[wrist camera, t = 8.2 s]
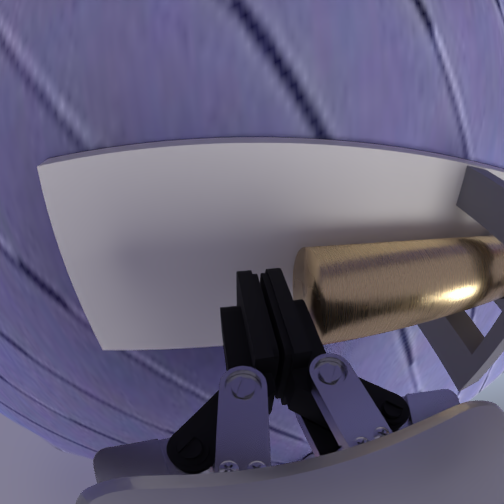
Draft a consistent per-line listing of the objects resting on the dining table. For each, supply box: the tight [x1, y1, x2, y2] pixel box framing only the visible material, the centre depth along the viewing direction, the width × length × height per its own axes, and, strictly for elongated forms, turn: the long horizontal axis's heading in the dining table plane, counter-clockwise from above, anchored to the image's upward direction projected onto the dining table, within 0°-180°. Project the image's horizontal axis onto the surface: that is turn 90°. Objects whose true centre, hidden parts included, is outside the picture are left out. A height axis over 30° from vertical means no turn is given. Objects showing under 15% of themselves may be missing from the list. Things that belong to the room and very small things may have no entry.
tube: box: [293, 235, 504, 345], centre depth 13 cm, size 24×4×4 cm, turn 88°
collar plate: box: [37, 137, 504, 391], centre depth 12 cm, size 11×40×9 cm, turn 88°
